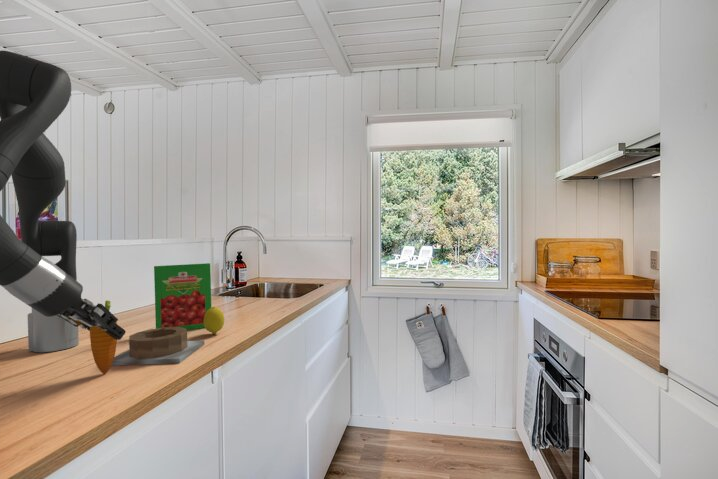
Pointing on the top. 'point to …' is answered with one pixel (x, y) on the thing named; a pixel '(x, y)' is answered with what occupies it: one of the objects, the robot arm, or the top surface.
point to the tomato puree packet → (182, 295)
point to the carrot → (102, 346)
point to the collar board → (158, 347)
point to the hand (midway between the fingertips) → (112, 334)
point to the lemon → (213, 320)
